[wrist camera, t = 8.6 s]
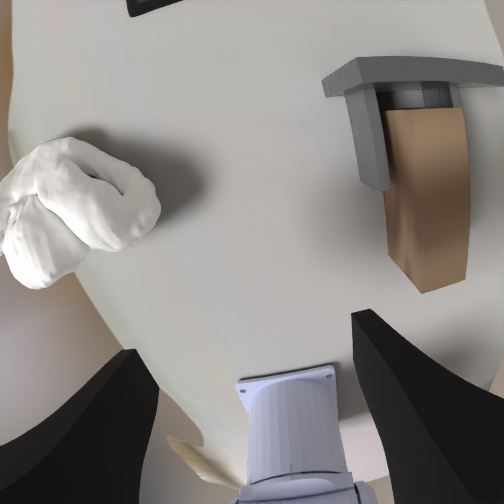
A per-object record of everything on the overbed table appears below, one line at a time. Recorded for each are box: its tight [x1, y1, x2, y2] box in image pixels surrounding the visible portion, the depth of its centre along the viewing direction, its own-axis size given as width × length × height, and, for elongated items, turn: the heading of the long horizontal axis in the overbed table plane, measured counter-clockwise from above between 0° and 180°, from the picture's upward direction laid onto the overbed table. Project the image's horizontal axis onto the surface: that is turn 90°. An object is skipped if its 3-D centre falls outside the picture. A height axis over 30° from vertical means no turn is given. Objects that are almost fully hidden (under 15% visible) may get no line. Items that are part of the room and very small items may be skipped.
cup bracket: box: [322, 56, 504, 192], centre depth 12 cm, size 6×8×6 cm
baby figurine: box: [0, 137, 161, 290], centre depth 14 cm, size 9×12×8 cm
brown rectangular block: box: [379, 108, 470, 294], centre depth 14 cm, size 9×3×5 cm, turn 14°
